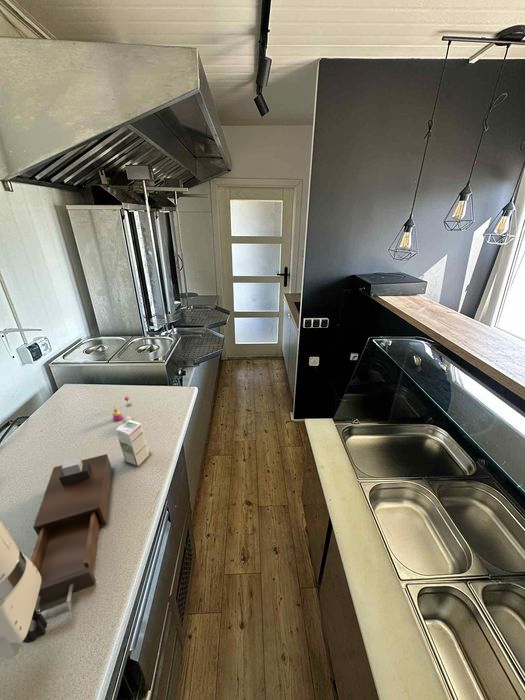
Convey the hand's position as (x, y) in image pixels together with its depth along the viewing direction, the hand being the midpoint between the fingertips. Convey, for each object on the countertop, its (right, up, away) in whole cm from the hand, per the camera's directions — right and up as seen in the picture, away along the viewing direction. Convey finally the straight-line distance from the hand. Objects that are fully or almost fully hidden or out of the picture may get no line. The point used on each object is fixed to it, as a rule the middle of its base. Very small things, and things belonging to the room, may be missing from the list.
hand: (36, 633), depth 51 cm
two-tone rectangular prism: (-13, +14, +32) cm, 37 cm away
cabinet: (-12, +6, +32) cm, 35 cm away
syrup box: (-2, +13, +47) cm, 49 cm away
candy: (-16, +23, +67) cm, 72 cm away
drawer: (-6, 0, +16) cm, 17 cm away
